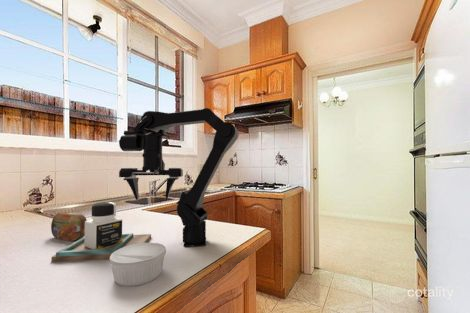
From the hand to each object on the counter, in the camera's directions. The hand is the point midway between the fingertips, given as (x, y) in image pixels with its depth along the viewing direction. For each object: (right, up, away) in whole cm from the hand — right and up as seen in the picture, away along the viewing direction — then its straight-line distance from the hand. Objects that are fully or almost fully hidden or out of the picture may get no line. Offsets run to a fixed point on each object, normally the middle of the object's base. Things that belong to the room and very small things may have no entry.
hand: (152, 199), depth 71 cm
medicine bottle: (-11, -12, -8) cm, 18 cm away
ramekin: (+6, -12, -23) cm, 27 cm away
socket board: (-10, -13, -7) cm, 18 cm away
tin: (-28, -14, +2) cm, 32 cm away
